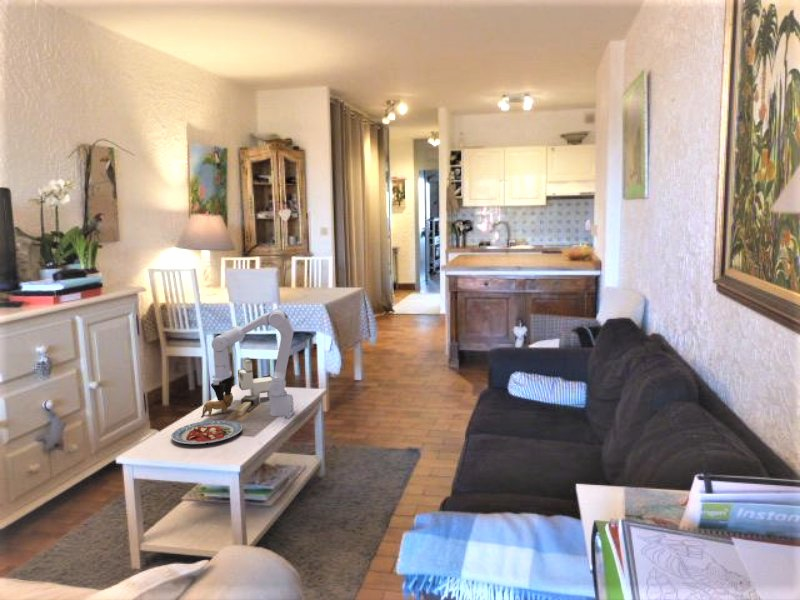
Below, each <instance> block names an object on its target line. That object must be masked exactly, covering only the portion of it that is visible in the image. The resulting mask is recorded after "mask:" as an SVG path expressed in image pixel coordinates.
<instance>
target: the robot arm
mask: <svg viewBox="0 0 800 600" xmlns="http://www.w3.org/2000/svg"><path fill="white" fill-rule="evenodd" d="M261 326H264V327H265V326H266V327H269V326H270V327H272V328H274V329H276V330H277V331H278V332H279V334H280V342H279V348H278V352H277V358H276V362H275V368H274V372H273V376H272V377H273V379H272V380H271V384H270V385H269V392H270V393H269V398H268V400H269V414H270V416H271V417H284V418H285V419H290V418H291V417H292V416H293V414H294V413H295V409H294V408H295V407H294V406H295V405H294V397H293V394H291V393H287V391H286V389H285V387H286V386H287V380H286V374H287V373H286V372H287V369H288V368H287V367H288V362H289V358H290V354H291V353H290V352H291V347H292V341H293V337H294V332H295V331H294V328H293V325H292V322H291V320H290V318H289V315H288V314H287V313H286V312H285V310H283V309H282V308H275V309H274V310H272V311H268V312H265V313H264V314H261V315H260V316H258V317H256V318H254V319H253V320H251V321H249V322H248V323H246V324H244V325H243V326H238V325H236V326H235V325H233V326H231V327H230V329H229V330H227V331H225V332H221V333H220V335H217V336H216V337H214V339H212V341H211V347H212V349H213V364H214V374H213V375H212V378H213V380H212V383H211V384H210V386H211V388H212V389H213V390H214V392H215V393H214V394H215V396H216V399H217V401H219V400H223V399H224V394H225V395H230V394H231V393H232V387H233V383H234V381H235V376H233V371H232V370H230V360H229V350H228V346H232V345H234V344H235V343H238V342H239V341H241V340H243V339H245V336H246V334H247V333H250V332H251V331H254V330H255V329H258V328H259V327H261Z"/></svg>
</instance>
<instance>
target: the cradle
mask: <svg viewBox="0 0 800 600" xmlns="http://www.w3.org/2000/svg"><path fill="white" fill-rule="evenodd" d="M240 401H241V402H240V403H241V405H242V404H243V403H244V402H251V404H252V407H251V408H250V409H248V411H247V412H246V413H245V414H244V415H243V416H235V410H233V411H232V412H231V413H230V414H229V415H228V416H226V417H225V418H224V419H223V420H228V421H234V422H237V421H239V422H240V421H242V422H244V421H246V420H247V419H248V418H249V417H250V416H252V415H253V413H254V412H256V411H257V410H258V409H259V408H260V407H261V406H262V405H263V403H259V396H251V395H244V396H243V397H242V398H241V399H240Z"/></svg>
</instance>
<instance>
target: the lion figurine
mask: <svg viewBox="0 0 800 600" xmlns="http://www.w3.org/2000/svg"><path fill="white" fill-rule="evenodd" d="M233 401H234V395H233V393H232V392H231V394H230V395H225V393H224V399H223V400H216V401H212V400H209V401H206V402H205V403H204V404H203V407H202V415H201V416H200V418H201V419H202V418H203V417H204V416H205V414H206V413H207V412H208V416H209V417H213V415H212V411H213V410H221V413H224V414H227V413H228V408H229V407H231V406H232V404H233Z"/></svg>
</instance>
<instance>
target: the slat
mask: <svg viewBox="0 0 800 600" xmlns="http://www.w3.org/2000/svg"><path fill="white" fill-rule="evenodd" d="M251 407H252V404H251V402H244V403H243V404H242V405H239V406H238V407H236V409H234V411H235V416H243V415H244V414H245V413H246V412H247V411H248V409H250V408H251Z"/></svg>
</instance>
